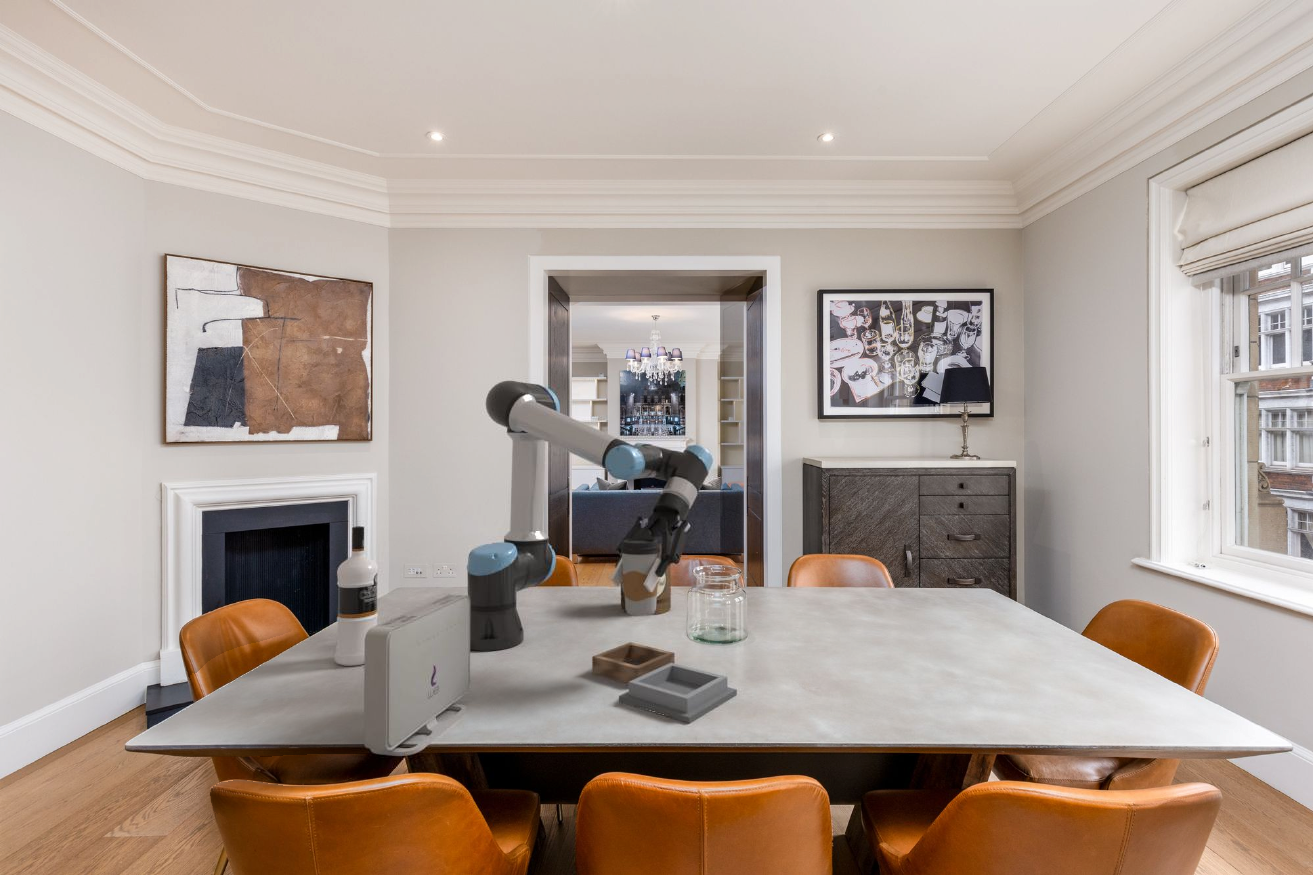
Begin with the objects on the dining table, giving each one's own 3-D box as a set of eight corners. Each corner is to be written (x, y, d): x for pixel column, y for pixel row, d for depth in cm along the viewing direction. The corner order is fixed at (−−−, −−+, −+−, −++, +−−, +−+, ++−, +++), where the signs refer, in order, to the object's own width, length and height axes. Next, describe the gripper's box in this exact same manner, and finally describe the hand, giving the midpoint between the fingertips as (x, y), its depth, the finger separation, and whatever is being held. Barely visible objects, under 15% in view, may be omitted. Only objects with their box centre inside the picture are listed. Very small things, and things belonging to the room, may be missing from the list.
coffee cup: (665, 608, 136) (665, 538, 136) (653, 618, 128) (652, 544, 128) (629, 606, 139) (628, 537, 139) (614, 615, 131) (614, 542, 131)
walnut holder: (592, 673, 133) (592, 656, 133) (630, 657, 143) (630, 642, 143) (637, 686, 126) (637, 668, 126) (674, 669, 136) (674, 652, 136)
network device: (399, 768, 94) (400, 632, 94) (347, 762, 96) (348, 629, 96) (481, 701, 119) (481, 594, 119) (438, 697, 121) (439, 592, 121)
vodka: (345, 653, 147) (346, 524, 147) (386, 653, 147) (387, 523, 148) (326, 667, 137) (327, 529, 138) (369, 667, 138) (370, 528, 138)
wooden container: (615, 614, 181) (615, 537, 182) (626, 602, 196) (626, 530, 196) (666, 616, 179) (666, 538, 179) (674, 603, 194) (673, 531, 194)
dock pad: (619, 701, 119) (618, 682, 119) (669, 676, 131) (669, 659, 131) (689, 723, 109) (689, 702, 109) (736, 694, 122) (736, 676, 122)
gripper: (721, 515, 140) (679, 602, 126) (645, 510, 152) (601, 589, 139) (707, 492, 135) (663, 580, 122) (631, 489, 148) (584, 569, 135)
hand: (630, 585), depth 131 cm, fingers closed on coffee cup, 8 cm apart
